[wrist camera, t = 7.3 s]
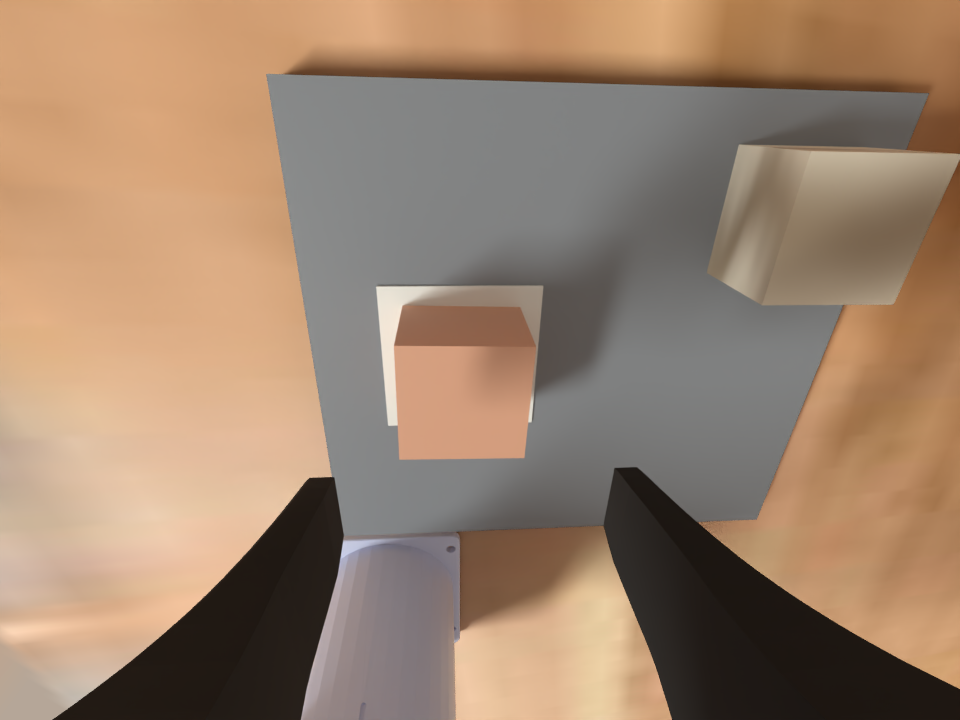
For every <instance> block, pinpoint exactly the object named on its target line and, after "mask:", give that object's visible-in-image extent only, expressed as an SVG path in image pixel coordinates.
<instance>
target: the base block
mask: <svg viewBox="0 0 960 720" xmlns="http://www.w3.org/2000/svg"><path fill="white" fill-rule="evenodd" d="M535 354H536V345H535V342H534V340H533V337H532V335H531V332H530V330H529V328H528V325H527V323H526V320H525V318H524V315H523V313H522V310H521V308H520V307H484V306H410V305H402V310H401V315H400V319H399V324H398V329H397V333H396V338H395V343H394V360H395V381H396V401H397V421H398V442H399V460H417V459H493V458H524V457H525V447H526V438H527V429H528V420H529V410H530V401H531V392H532V382H533V373H534V364H535Z"/></svg>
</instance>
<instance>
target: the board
mask: <svg viewBox="0 0 960 720" xmlns="http://www.w3.org/2000/svg"><path fill="white" fill-rule="evenodd" d="M266 75H267V81H268V87H269V93H270V100H271V106H272V112H273V118H274V124H275V130H276V136H277V142H278V149H279V155H280V161H281V167H282V173H283V179H284V185H285V191H286V198H287V204H288V210H289V216H290V222H291V228H292V234H293V240H294V247H295V253H296V259H297V265H298V271H299V277H300V283H301V289H302V295H303V302H304V308H305V314H306V320H307V326H308V332H309V338H310V344H311V351H312V357H313V363H314V369H315V375H316V381H317V387H318V393H319V400H320V406H321V412H322V418H323V424H324V430H325V436H326V442H327V448H328V455H329V461H330V467H331V473H332V477H334V478H335V484H336V490H337V496H338V502H339V508H340V514H341V520H342V526H343V533H344V536H361V535H385V534H410V533H435V532H459V531H484V530H508V529H533V528H558V527H582V526H604V525H603V524H604V519H605V514H606V509H607V504H608V499H609V494H610V488H611V483H612V478H613V473H614V468H625V467H638V468H639V469H640V470H641V471H642V472H643V473H644V474H645V475H647V476H648V477H649V478H650V479H651V480H652V481H653V482H654V483H655V484H656V485H657V486H658V487H659V488H660V489H661V490H662V491H664V492H665V493H666V494H667V495H668V496H669V497H670V498H671V499H672V500H673V501H674V502H675V503H676V504H678V505H679V506H680V507H681V508H682V509H683V510H684V511H685V512H686V513H687V514H689V515H690V516H691V517H692V518H693V519H694V520H695V521H696V522H706V521H730V520H755V519H757V517H758V515H759V512H760V510H761V507H762V505H763V502H764V500H765V497H766V495H767V492H768V490H769V488H770V485H771V483H772V480H773V478H774V475H775V473H776V470H777V468H778V465H779V463H780V460H781V458H782V455H783V453H784V450H785V448H786V446H787V443H788V441H789V438H790V436H791V433H792V431H793V428H794V426H795V423H796V421H797V418H798V416H799V413H800V411H801V409H802V406H803V404H804V401H805V399H806V396H807V394H808V391H809V389H810V386H811V384H812V381H813V379H814V376H815V374H816V371H817V369H818V367H819V364H820V362H821V359H822V357H823V354H824V352H825V349H826V347H827V344H828V342H829V339H830V337H831V334H832V332H833V329H834V327H835V325H836V322H837V320H838V317H839V315H840V312H841V310H842V307H843V305H760V304H759V303H757V302H755V301H754V300H752V299H750V298H749V297H747V296H745V295H743V294H742V293H740V292H738V291H737V290H735V289H733V288H732V287H730V286H728V285H727V284H725V283H723V282H721V281H720V280H718V279H716V278H715V277H713V276H711V275H710V274H708V273H707V269H708V265H709V261H710V257H711V253H712V249H713V245H714V241H715V237H716V234H717V230H718V226H719V222H720V218H721V214H722V210H723V206H724V202H725V198H726V194H727V190H728V186H729V182H730V178H731V174H732V170H733V166H734V162H735V158H736V154H737V150H738V146H739V144H741V145H791V146H841V147H870V148H884V149H898V150H906V149H907V147H908V144H909V142H910V139H911V137H912V134H913V132H914V129H915V127H916V124H917V122H918V120H919V117H920V115H921V112H922V110H923V107H924V105H925V102H926V100H927V97H928V95H929V93H902V92H868V91H834V90H799V89H765V88H731V87H696V86H662V85H628V84H593V83H559V82H525V81H490V80H456V79H421V78H387V77H353V76H318V75H284V74H266ZM402 305H410V306H484V307H520V308H521V310H522V313H523V315H524V318H525V320H526V323H527V325H528V328H529V330H530V332H531V335H532V337H533V340H534V342H535V345H536V354H535V364H534V373H533V382H532V392H531V401H530V410H529V420H528V429H527V438H526V447H525V457H524V458H493V459H417V460H399V442H398V421H397V401H396V381H395V360H394V343H395V338H396V333H397V329H398V324H399V319H400V315H401V310H402Z"/></svg>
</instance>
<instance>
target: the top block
mask: <svg viewBox="0 0 960 720" xmlns="http://www.w3.org/2000/svg"><path fill="white" fill-rule="evenodd" d="M959 160H960V154H954V153H940V152H926V151H912V150H898V149H884V148H870V147H841V146H791V145H741V144H739V146H738V150H737V154H736V158H735V162H734V166H733V170H732V174H731V178H730V182H729V186H728V190H727V194H726V198H725V202H724V206H723V210H722V214H721V218H720V222H719V226H718V230H717V234H716V237H715V241H714V245H713V249H712V253H711V257H710V261H709V265H708V269H707V273H708V274H710V275H711V276H713V277H715V278H716V279H718V280H720V281H721V282H723V283H725V284H727V285H728V286H730V287H732V288H733V289H735V290H737V291H738V292H740V293H742V294H743V295H745V296H747V297H749V298H750V299H752V300H754V301H755V302H757V303H759V304H760V305H893V304H894V302H895V300H896V298H897V296H898V293H899V291H900V289H901V287H902V285H903V283H904V280H905V278H906V276H907V274H908V272H909V269H910V267H911V265H912V263H913V261H914V258H915V256H916V254H917V252H918V250H919V248H920V245H921V243H922V241H923V239H924V237H925V234H926V232H927V230H928V228H929V226H930V223H931V221H932V219H933V217H934V215H935V213H936V210H937V208H938V206H939V204H940V202H941V199H942V197H943V195H944V193H945V191H946V189H947V186H948V184H949V182H950V180H951V178H952V175H953V173H954V171H955V169H956V167H957V164H958V162H959Z"/></svg>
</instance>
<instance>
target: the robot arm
mask: <svg viewBox="0 0 960 720" xmlns="http://www.w3.org/2000/svg"><path fill="white" fill-rule="evenodd" d="M603 525H604V529H605V532H606V536H607V540H608V544H609V547H610V551H611V554H612V558H613V561H614V564H615V567H616V569H617V572H618V574H619V577H620V579H621V582H622V584H623V587H624V589H625V592H626V594H627V596H628V599H629V601H630V604H631V606H632V608H633V611H634V613H635V616H636V618H637V621H638V623H639V625H640V628H641V630H642V633H643V635H644V638H645V640H646V642H647V645H648V647H649V650H650V652H651V655H652V658H653V661H654V663H655V666H656V669H657V672H658V675H659V678H660V682H661V685H662V688H663V691H664V694H665V698H666V701H667V704H668V707H669V711H670V714H671V717H672V720H960V689H958V688H956V687H954V686H952V685H950V684H948V683H946V682H944V681H942V680H940V679H938V678H936V677H934V676H932V675H930V674H928V673H926V672H924V671H922V670H920V669H918V668H916V667H914V666H912V665H910V664H908V663H906V662H904V661H902V660H900V659H899V658H897V657H895V656H893V655H891V654H889V653H888V652H886V651H884V650H882V649H880V648H879V647H877V646H875V645H873V644H871V643H870V642H868V641H866V640H864V639H862V638H861V637H859V636H857V635H855V634H854V633H852V632H850V631H849V630H847V629H845V628H843V627H842V626H840V625H838V624H837V623H835V622H833V621H832V620H830V619H829V618H827V617H825V616H824V615H822V614H821V613H819V612H817V611H816V610H814V609H813V608H811V607H810V606H808V605H806V604H805V603H803V602H802V601H800V600H799V599H797V598H796V597H794V596H793V595H791V594H790V593H788V592H787V591H785V590H784V589H782V588H781V587H779V586H778V585H777V584H775V583H774V582H772V581H771V580H770V579H768V578H767V577H765V576H764V575H763V574H761V573H760V572H758V571H757V570H756V569H754V568H753V567H752V566H750V565H749V564H748V563H746V562H745V561H744V560H742V559H741V558H740V557H738V556H737V555H736V554H735V553H734V552H732V551H731V550H730V549H729V548H727V547H726V546H725V545H724V544H722V543H721V542H720V541H719V540H717V539H716V538H715V537H714V536H713V535H711V534H710V533H709V532H708V531H707V530H706V529H704V528H703V527H702V526H701V525H700V524H699V523H698V522H696V521H695V520H694V519H693V518H692V517H691V516H690V515H689V514H687V513H686V512H685V511H684V510H683V509H682V508H681V507H680V506H679V505H678V504H676V503H675V502H674V501H673V500H672V499H671V498H670V497H669V496H668V495H667V494H666V493H665V492H664V491H662V490H661V489H660V488H659V487H658V486H657V485H656V484H655V483H654V482H653V481H652V480H651V479H650V478H649V477H648V476H647V475H645V474H644V473H643V472H642V471H641V470H640V469H639V468H638V467H625V468H614V473H613V478H612V483H611V488H610V494H609V499H608V504H607V509H606V514H605V519H604V524H603ZM448 546H452V547H448ZM459 639H460V536H459V534H458V533H456V532H435V533H410V534H385V535H361V536H344V533H343V526H342V520H341V514H340V508H339V502H338V496H337V490H336V484H335V478H334V477H323V478H309V479H308V480H307V481H306V482H305V483H304V485H303V486H302V487H301V488H300V490H299V491H298V492H297V494H296V495H295V496H294V497H293V499H292V500H291V501H290V502H289V504H288V505H287V506H286V507H285V509H284V510H283V511H282V512H281V514H280V515H279V516H278V517H277V518H276V520H275V521H274V522H273V523H272V524H271V526H270V527H269V528H268V529H267V530H266V531H265V533H264V534H263V535H262V536H261V537H260V538H259V540H258V541H257V542H256V543H255V544H254V545H253V547H252V548H251V549H250V550H249V551H248V552H247V553H246V554H245V555H244V556H243V558H242V559H241V560H240V561H239V562H238V563H237V564H236V565H235V566H234V567H233V568H232V569H231V570H230V571H229V572H228V574H227V575H226V576H225V577H224V578H223V579H222V580H221V581H220V582H219V583H218V584H217V585H216V586H215V587H214V588H213V589H212V590H211V591H210V592H209V593H208V594H207V595H206V596H205V597H204V598H203V599H202V600H201V601H200V602H198V603H197V604H196V605H195V606H194V607H193V608H192V609H191V610H190V611H189V612H188V613H187V614H186V615H185V616H183V617H182V618H181V619H180V620H179V621H178V622H177V623H176V624H174V625H173V626H172V627H171V628H170V629H169V630H167V631H166V632H165V633H164V634H163V635H162V636H161V637H159V638H158V639H157V640H156V641H155V642H154V643H152V644H151V645H150V646H149V647H148V648H146V649H145V650H144V651H143V652H142V653H140V654H139V655H138V656H137V657H136V658H134V659H133V660H132V661H131V662H129V663H128V664H127V665H126V666H124V667H123V668H122V669H120V670H119V671H118V672H117V673H115V674H114V675H113V676H111V677H110V678H109V679H107V680H106V681H105V682H103V683H102V684H101V685H100V686H98V687H97V688H96V689H94V690H93V691H92V692H90V693H89V694H87V695H86V696H85V697H83V698H82V699H81V700H79V701H78V702H77V703H75V704H74V705H73V706H71V707H70V708H68V709H67V710H66V711H64V712H63V713H61V714H60V715H59V716H57V717H56V718H54V719H53V720H456V705H455V658H454V643H455V642H457V641H458V640H459Z"/></svg>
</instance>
